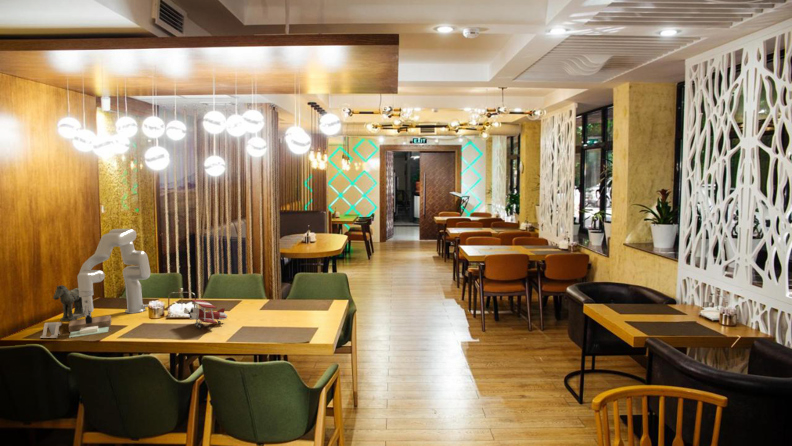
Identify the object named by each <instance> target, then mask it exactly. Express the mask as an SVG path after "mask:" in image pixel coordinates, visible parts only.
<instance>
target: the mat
mask: <svg viewBox="0 0 792 446" xmlns="http://www.w3.org/2000/svg"><path fill="white" fill-rule="evenodd" d="M109 328H110V327H102V328H98V332H92V333H85V334H80V331H74V332H70V334H69V336H68V338H69V339H70V338H71V337H72V338H78V337H84V336H91V335H98V334H105V333H109ZM72 338H71V339H72Z"/></svg>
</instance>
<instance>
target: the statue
mask: <svg viewBox="0 0 792 446" xmlns="http://www.w3.org/2000/svg"><path fill="white" fill-rule="evenodd" d="M52 297H53V298H52V299H54V301H57V300H60V303H61V304H62V310H63V311H62V313H63V315H62V316H61V318H59V321H60V320H61V321H60V322H71V321H72V320H79V319H82V318H85V317H86V316H85V313H83V306H82V297H79V288H78V287H76V288H73V289H70V290H69V289H68V287H66V286H65V285H63V284H61V285H56V289H55V292H54V294H53V296H52ZM73 305H74V311H73Z"/></svg>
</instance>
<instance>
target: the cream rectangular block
mask: <svg viewBox="0 0 792 446" xmlns="http://www.w3.org/2000/svg"><path fill="white" fill-rule="evenodd" d="M92 332H98V326H94V327H87V328H81V329H80V334H85V333H92Z"/></svg>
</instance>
